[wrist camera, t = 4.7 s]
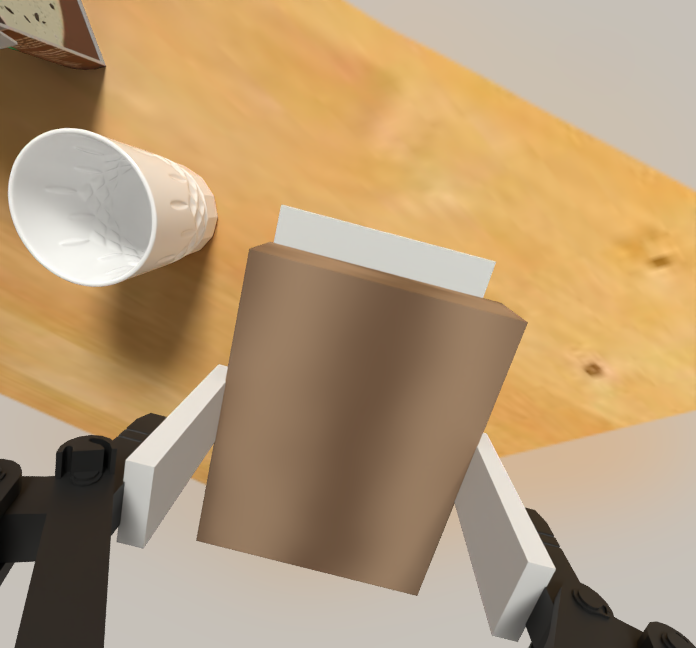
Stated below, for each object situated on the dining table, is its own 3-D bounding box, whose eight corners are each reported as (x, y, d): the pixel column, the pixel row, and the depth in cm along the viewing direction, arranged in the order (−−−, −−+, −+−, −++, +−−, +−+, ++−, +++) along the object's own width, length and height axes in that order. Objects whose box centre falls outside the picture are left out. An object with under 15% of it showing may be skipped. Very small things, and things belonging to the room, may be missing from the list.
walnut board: (220, 493, 20) (196, 540, 17) (270, 241, 17) (249, 248, 14) (410, 541, 21) (417, 596, 18) (501, 302, 17) (527, 322, 14)
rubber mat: (247, 384, 34) (244, 388, 33) (283, 204, 30) (281, 204, 29) (430, 432, 34) (432, 437, 33) (492, 260, 30) (495, 262, 29)
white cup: (234, 258, 31) (170, 280, 21) (137, 267, 32) (33, 292, 22) (215, 148, 29) (135, 118, 19) (112, 160, 30) (-15, 137, 20)
